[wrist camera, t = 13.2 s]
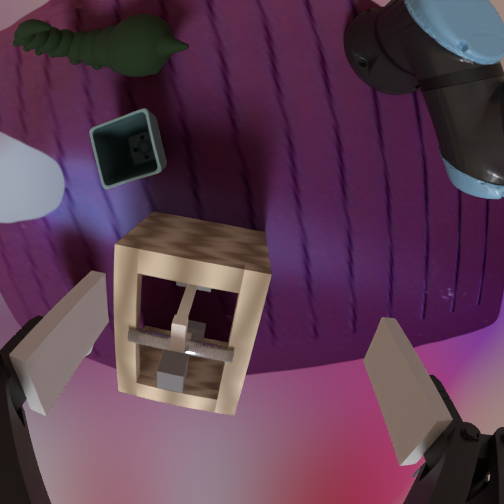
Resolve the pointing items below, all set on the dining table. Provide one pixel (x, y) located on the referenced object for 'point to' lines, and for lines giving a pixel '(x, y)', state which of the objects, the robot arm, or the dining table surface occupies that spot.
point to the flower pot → (128, 148)
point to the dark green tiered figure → (106, 44)
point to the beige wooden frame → (196, 273)
